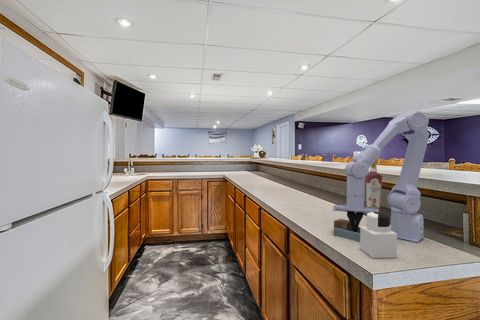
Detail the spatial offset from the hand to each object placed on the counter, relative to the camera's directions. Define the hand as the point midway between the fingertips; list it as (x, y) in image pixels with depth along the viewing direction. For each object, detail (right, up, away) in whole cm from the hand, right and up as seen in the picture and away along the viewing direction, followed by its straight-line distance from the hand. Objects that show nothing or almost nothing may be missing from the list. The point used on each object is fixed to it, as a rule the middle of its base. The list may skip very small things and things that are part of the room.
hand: (354, 232), depth 89 cm
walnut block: (-3, -1, +4) cm, 5 cm away
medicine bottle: (0, -2, -15) cm, 15 cm away
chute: (0, -1, +1) cm, 1 cm away
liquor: (+23, -1, +30) cm, 38 cm away
